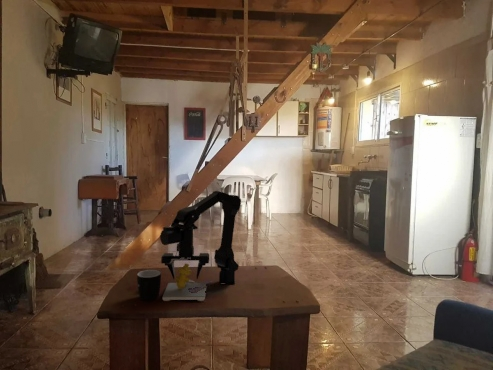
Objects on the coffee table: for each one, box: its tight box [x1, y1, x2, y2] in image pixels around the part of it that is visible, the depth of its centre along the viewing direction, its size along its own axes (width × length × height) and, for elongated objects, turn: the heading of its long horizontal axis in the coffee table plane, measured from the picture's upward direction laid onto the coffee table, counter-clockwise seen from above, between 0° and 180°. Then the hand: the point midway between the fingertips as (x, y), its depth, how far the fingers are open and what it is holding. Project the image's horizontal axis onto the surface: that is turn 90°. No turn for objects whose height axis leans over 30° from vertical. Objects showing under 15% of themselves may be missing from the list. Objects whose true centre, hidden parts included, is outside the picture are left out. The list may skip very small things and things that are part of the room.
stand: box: [162, 282, 207, 302], centre depth 147 cm, size 16×15×2 cm
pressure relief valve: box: [174, 263, 195, 289], centre depth 149 cm, size 6×12×10 cm, turn 157°
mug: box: [136, 269, 162, 302], centre depth 140 cm, size 12×9×10 cm
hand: (185, 279), depth 146 cm, fingers open, 9 cm apart
